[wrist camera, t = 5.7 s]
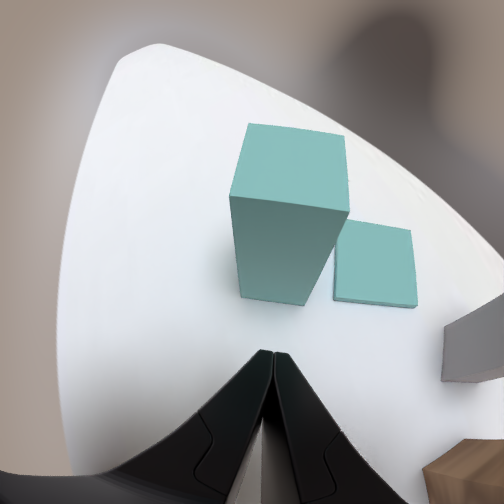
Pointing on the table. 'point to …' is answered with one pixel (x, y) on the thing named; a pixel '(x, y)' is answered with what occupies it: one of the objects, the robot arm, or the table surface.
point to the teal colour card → (375, 265)
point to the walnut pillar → (468, 474)
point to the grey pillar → (475, 345)
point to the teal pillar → (287, 210)
